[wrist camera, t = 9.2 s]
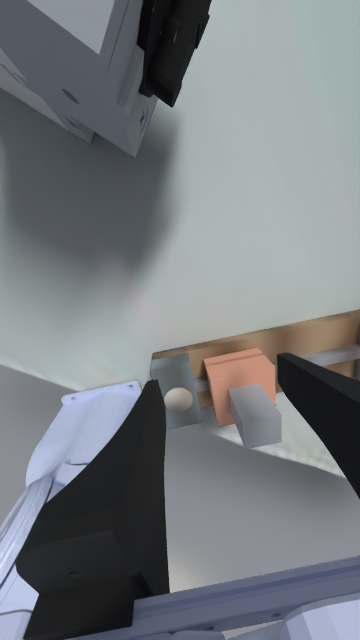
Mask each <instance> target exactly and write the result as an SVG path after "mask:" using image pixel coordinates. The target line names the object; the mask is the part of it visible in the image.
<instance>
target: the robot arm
mask: <svg viewBox="0 0 360 640" xmlns="http://www.w3.org/2000/svg"><path fill="white" fill-rule="evenodd" d="M277 380H278V384H279V385H280V387H281V389H282V390H283V392H284V393H285V395H286V397H287V398H288V399H289V401H290V402H291V403H292V404H293V406H294V407H295V408H296V409H297V411H298V412H299V413H300V414H301V415H302V417H303V418H304V419H305V420H306V422H307V423H308V424H309V425H310V426H311V428H312V429H313V430H314V431H315V433H316V434H317V435H318V437H319V438H320V439H321V440H322V442H323V443H324V445H325V446H326V448H327V449H328V451H329V452H330V454H331V455H332V457H333V458H334V459H335V461H336V462H337V464H338V466H339V467H340V469H341V470H342V472H343V473H344V475H345V476H346V478H347V479H348V481H349V482H350V484H351V486H352V487H353V489H354V491H355V492H356V494H357V495H358V497H359V499H360V381H359V380H356V379H353V378H350V377H347V376H345V375H342V374H339V373H337V372H334V371H332V370H329V369H327V368H324V367H322V366H319V365H317V364H315V363H312V362H310V361H308V360H305V359H303V358H301V357H298V356H296V355H293V354H291V353H288V352H285V353H281V354H277ZM130 385H132V386H130ZM73 397H75V398H73ZM61 401H62V403H63V407H62V408H61V410H60V411H59V413H58V415H57V416H56V418H55V419H54V421H53V422H52V424H51V425H50V427H49V428H48V430H47V432H46V433H45V435H44V436H43V438H42V439H41V441H40V442H39V444H38V446H37V447H36V449H35V450H34V452H33V454H32V457H31V459H30V462H29V465H28V469H27V474H26V490H25V491H24V492H23V494H22V495H21V496H20V498H19V499H18V501H17V502H16V504H15V505H14V507H13V508H12V510H11V511H10V513H9V514H8V516H7V518H6V519H5V520H4V522H3V524H2V525H1V527H0V640H225V637H224V635H223V634H222V633H221V632H222V631H226V630H231V629H237V628H242V627H247V626H252V625H257V624H262V623H268V622H273V621H278V620H283V619H284V620H283V621H281V622H278V623H275V624H272V625H269V626H266V627H263V628H259V629H257V630H254V631H251V632H247V633H244V634H241V635H238V636H235V637H232V638H229V639H227V640H360V556H355V557H350V558H345V559H340V560H335V561H330V562H325V563H320V564H315V565H310V566H305V567H300V568H295V569H289V570H284V571H280V572H274V573H269V574H264V575H259V576H254V577H249V578H244V579H239V580H234V581H230V582H224V583H219V584H214V585H209V586H204V587H199V588H194V589H189V590H184V591H179V592H174V593H170V589H169V575H168V574H169V573H168V560H167V559H168V558H167V540H166V520H165V495H164V456H165V439H166V438H165V437H166V408H165V403H164V399H163V396H162V393H161V389H160V386H159V382H158V379H156V380H152V381H147V383H146V385H145V386H144V388H143V390H142V389H141V386H140V383H139V382H138V381H131V382H126V383H121V384H116V385H112V386H107V387H102V388H97V389H93V390H88V391H83V392H78V393H74V394H69V395H65V396H63V397H62V399H61Z"/></svg>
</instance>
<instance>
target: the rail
mask: <svg viewBox="0 0 360 640" xmlns="http://www.w3.org/2000/svg"><path fill="white" fill-rule="evenodd" d="M254 348H259V350H260V351H261V352H262V353H263V354H264V355H265V356H266V357H267V358H268V359H269V361H270V362H271V363H272V364H273V365H274V366H275V392H281V391H283V390H282V389H281V387H280V385H279V384H278V380H277V354H281V353H285V352H288V353H291V354H293V355H296V356H298V357H301V358H303V359H305V360H308V361H310V362H312V363H315V364H317V365H319V366H322V367H324V368H327V369H329V370H332V371H334V372H337V373H339V374H342V375H345V376H347V377H354V378H356V379H357V380H359V381H360V310H355V311H351V312H346V313H341V314H336V315H332V316H327V317H322V318H317V319H313V320H308V321H303V322H298V323H294V324H289V325H284V326H279V327H275V328H270V329H265V330H260V331H256V332H251V333H246V334H241V335H237V336H232V337H227V338H222V339H218V340H213V341H208V342H203V343H199V344H194V345H189V346H184V347H180V348H175V349H170V350H165V351H161V352H156V353H153V355H152V362H151V370H150V372H151V375H152V378H153V380H156V379H158V382H159V386H160V389H161V393H162V396H163V399H164V403H165V408H166V424H167V427H168V429H172V428H177V427H182V426H186V425H191V424H196V423H201V422H203V421H202V416H201V411H200V408H204V407H209V406H212V403H211V398H210V396H211V394H210V389H209V383H208V378H207V372H206V368H205V365H204V360H203V359H206V358H211V357H216V356H221V355H226V354H230V353H235V352H240V351H245V350H249V349H254Z"/></svg>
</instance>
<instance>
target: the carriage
mask: <svg viewBox="0 0 360 640" xmlns="http://www.w3.org/2000/svg"><path fill="white" fill-rule="evenodd" d="M203 360H204V365H205V368H206V372H207V378H208V383H209V389H210V394H211V396H210V398H211V403H212V406H213V410H214V413H215V417H216V420H217V424H218V427H221V426H225V425H230V424H236V426H237V429H238V431H239V434H240V436H241V439H242V442H243V444H244V447H245V449H249V448H254V447H259V446H264V445H269V444H274V443H278V442H282V436H281V414H280V412H279V411H278V409H277V408H276V392H275V366H274V365H273V364H272V363H271V362H270V361H269V359H268V358H267V357H266V356H265V355H264V354H263V353H262V352H261V351H260V350H259V348H254V349H249V350H245V351H240V352H235V353H230V354H226V355H221V356H216V357H211V358H206V359H203Z"/></svg>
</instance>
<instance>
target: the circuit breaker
mask: <svg viewBox="0 0 360 640" xmlns="http://www.w3.org/2000/svg"><path fill="white" fill-rule="evenodd" d="M211 1H212V0H0V88H2V89H4V90H5V91H7V92H8V93H10V94H12V95H13V96H15V97H16V98H18V99H19V100H21V101H23V102H24V103H26V104H27V105H29V106H30V107H32V108H34V109H35V110H37V111H38V112H40V113H42V114H43V115H45V116H46V117H48V118H49V119H51V120H53V121H54V122H56V123H57V124H59V125H60V126H62V127H64V128H65V129H67V130H68V131H70V132H71V133H73V134H75V135H76V136H78V137H79V138H81V139H83V140H84V141H86V142H87V143H89V144H91V141H92V138H93V135H94V132H96V133H97V134H99V135H100V136H102V137H103V138H105V139H107V140H108V141H110V142H111V143H113V144H114V145H116V146H117V147H119V148H120V149H122V150H123V151H125V152H127V153H128V154H130V155H131V156H133V157H134V158H136V155H137V153H138V150H139V147H140V145H141V142H142V139H143V137H144V134H145V131H146V129H147V126H148V124H149V121H150V118H151V116H152V113H153V110H154V108H155V105H156V102H157V100H158V99H157V97H158V98H159V99H161V100H162V101H163V102H165V103H166V104H167V105H169V106H170V107H173V106H174V104H175V102H176V99H177V97H178V94H179V92H180V90H181V87H182V80H183V77H184V75H185V72H186V70H187V67H188V65H189V62H190V60H191V57H192V55H193V52H194V50H195V48H196V49H197V48H198V45H199V43H200V40H201V38H202V35H203V33H204V30H205V28H206V25H207V23H208V20H209V17H210V16H209V14H208V11H209V7H210V4H211Z"/></svg>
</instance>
